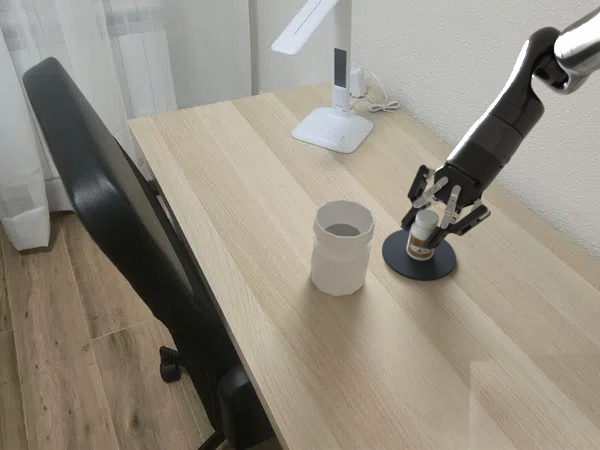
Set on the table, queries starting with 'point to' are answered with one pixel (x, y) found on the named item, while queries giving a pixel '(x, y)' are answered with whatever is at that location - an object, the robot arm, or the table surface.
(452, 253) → the rubber mat
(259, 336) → the table surface
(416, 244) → the pill bottle
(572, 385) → the table surface
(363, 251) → the vase
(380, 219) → the table surface
